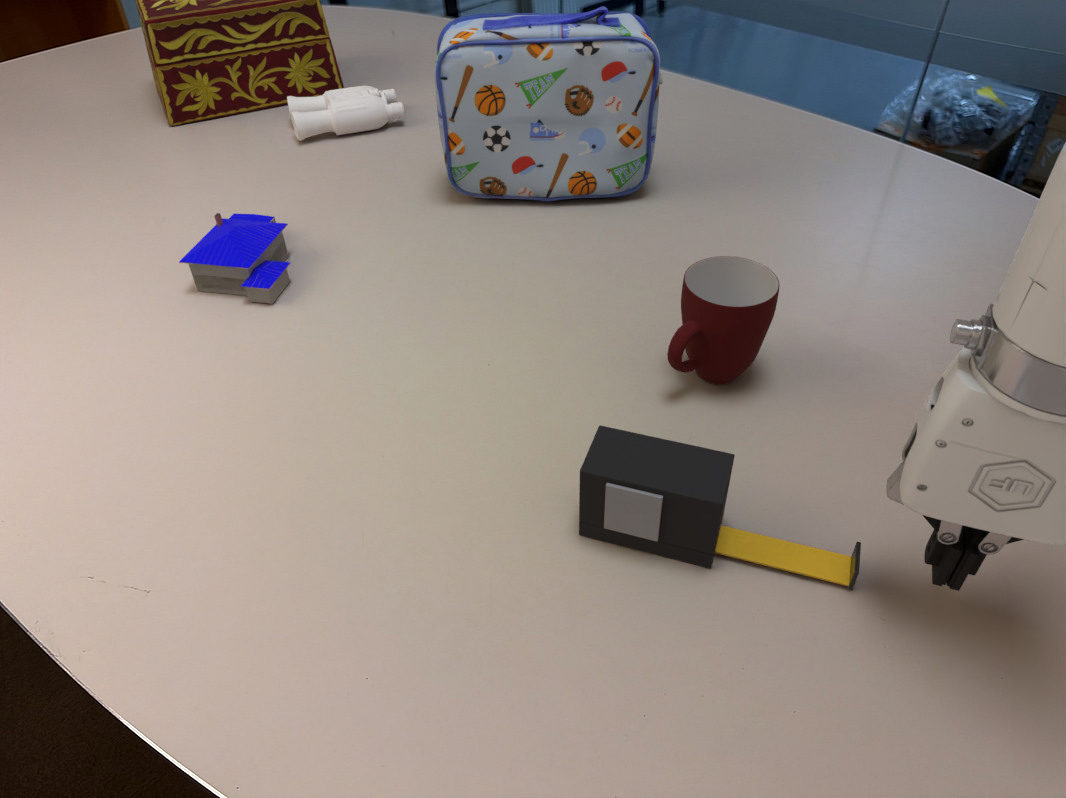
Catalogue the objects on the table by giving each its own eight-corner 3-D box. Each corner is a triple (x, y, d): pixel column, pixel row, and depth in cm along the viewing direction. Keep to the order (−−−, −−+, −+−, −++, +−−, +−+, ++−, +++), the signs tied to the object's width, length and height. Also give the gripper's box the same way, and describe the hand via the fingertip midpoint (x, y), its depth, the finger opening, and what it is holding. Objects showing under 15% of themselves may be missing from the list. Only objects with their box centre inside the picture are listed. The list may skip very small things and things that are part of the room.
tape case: (723, 516, 62) (735, 451, 58) (710, 572, 58) (722, 507, 54) (597, 486, 65) (600, 422, 60) (577, 538, 61) (578, 473, 56)
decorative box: (169, 127, 123) (135, 23, 113) (156, 88, 136) (124, -9, 126) (346, 94, 131) (328, -6, 122) (318, 60, 144) (299, -33, 134)
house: (326, 239, 96) (316, 196, 92) (274, 307, 86) (261, 261, 82) (239, 232, 98) (226, 189, 94) (178, 297, 88) (161, 252, 84)
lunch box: (652, 166, 108) (665, -13, 94) (664, 202, 101) (681, 13, 86) (447, 174, 108) (428, -4, 94) (443, 212, 100) (422, 24, 86)
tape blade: (854, 559, 59) (861, 542, 57) (852, 590, 57) (859, 572, 55) (720, 527, 61) (723, 509, 60) (714, 555, 59) (717, 538, 58)
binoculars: (290, 120, 124) (283, 89, 121) (394, 104, 127) (389, 74, 124) (298, 147, 116) (291, 115, 113) (407, 129, 120) (403, 98, 117)
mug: (711, 426, 70) (726, 333, 63) (638, 385, 74) (645, 294, 68) (778, 370, 75) (798, 278, 69) (707, 335, 80) (719, 245, 73)
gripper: (904, 371, 42) (824, 585, 54) (1244, 436, 38) (1076, 650, 50) (905, 293, 47) (833, 504, 59) (1204, 343, 43) (1060, 557, 55)
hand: (944, 570), depth 54 cm, fingers closed
